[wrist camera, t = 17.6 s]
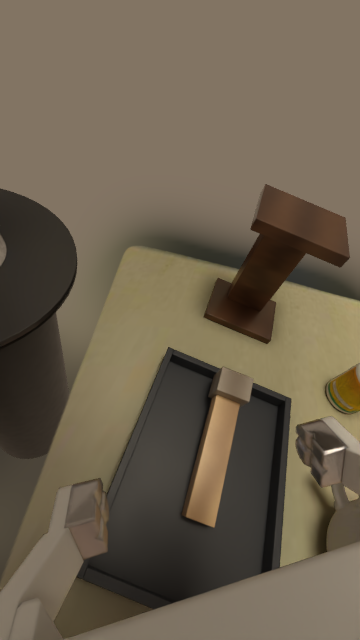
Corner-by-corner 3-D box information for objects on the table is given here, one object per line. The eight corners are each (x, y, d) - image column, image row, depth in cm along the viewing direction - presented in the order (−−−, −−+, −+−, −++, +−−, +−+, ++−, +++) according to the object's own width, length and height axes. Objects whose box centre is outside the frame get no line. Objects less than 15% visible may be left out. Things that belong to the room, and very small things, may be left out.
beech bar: (176, 513, 29) (184, 516, 26) (214, 371, 37) (223, 362, 34) (213, 526, 29) (224, 532, 26) (243, 382, 37) (254, 374, 34)
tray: (74, 572, 25) (73, 575, 23) (164, 355, 40) (168, 346, 38) (259, 648, 25) (273, 659, 23) (281, 404, 40) (291, 398, 38)
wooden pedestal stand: (203, 317, 45) (256, 218, 31) (215, 282, 51) (265, 183, 36) (267, 344, 45) (350, 258, 31) (272, 306, 51) (345, 217, 36)
